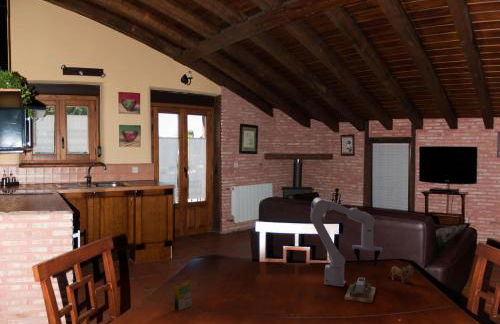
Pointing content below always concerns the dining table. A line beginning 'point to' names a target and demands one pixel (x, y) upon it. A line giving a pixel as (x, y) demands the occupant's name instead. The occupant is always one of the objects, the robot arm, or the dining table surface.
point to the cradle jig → (362, 297)
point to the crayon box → (182, 295)
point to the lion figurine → (402, 272)
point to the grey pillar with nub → (360, 285)
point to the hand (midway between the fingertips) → (366, 264)
